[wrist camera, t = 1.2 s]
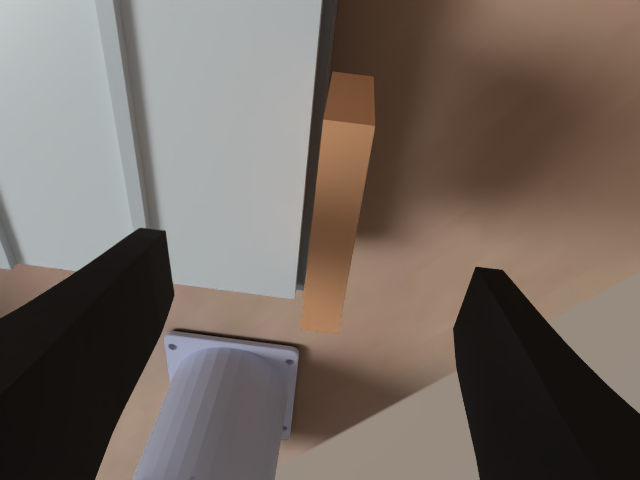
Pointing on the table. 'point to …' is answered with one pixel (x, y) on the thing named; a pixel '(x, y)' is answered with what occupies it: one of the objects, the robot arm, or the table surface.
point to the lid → (181, 141)
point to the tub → (317, 129)
